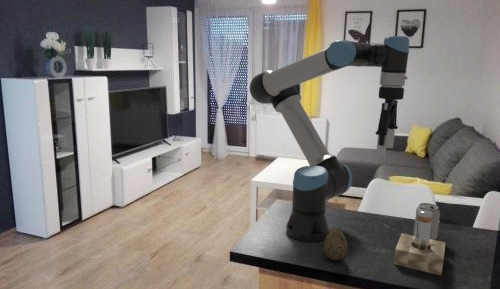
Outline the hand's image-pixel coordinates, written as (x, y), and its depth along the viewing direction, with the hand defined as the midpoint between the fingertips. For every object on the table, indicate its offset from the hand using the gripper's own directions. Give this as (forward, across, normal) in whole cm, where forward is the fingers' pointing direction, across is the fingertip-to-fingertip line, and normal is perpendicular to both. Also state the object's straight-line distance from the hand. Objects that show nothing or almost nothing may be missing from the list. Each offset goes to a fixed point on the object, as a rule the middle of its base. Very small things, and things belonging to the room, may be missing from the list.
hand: (384, 151), depth 128 cm
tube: (+31, -9, -15) cm, 36 cm away
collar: (+31, -9, -15) cm, 36 cm away
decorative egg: (+31, -22, +8) cm, 39 cm away
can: (+31, +10, -15) cm, 36 cm away
